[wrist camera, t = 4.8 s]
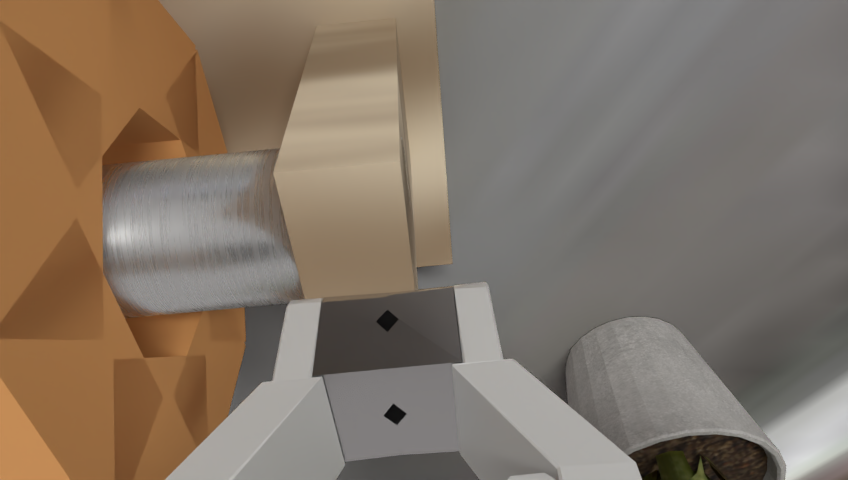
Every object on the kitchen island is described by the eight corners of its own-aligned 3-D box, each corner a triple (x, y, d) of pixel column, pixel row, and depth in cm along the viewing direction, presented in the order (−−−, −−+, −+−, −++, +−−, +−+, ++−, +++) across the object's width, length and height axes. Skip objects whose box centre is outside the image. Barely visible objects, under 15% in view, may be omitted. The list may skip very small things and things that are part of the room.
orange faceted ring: (45, -78, 14) (-465, 128, 5) (156, -90, 14) (-189, 100, 5) (185, 282, 19) (39, 641, 11) (263, 275, 19) (173, 629, 11)
